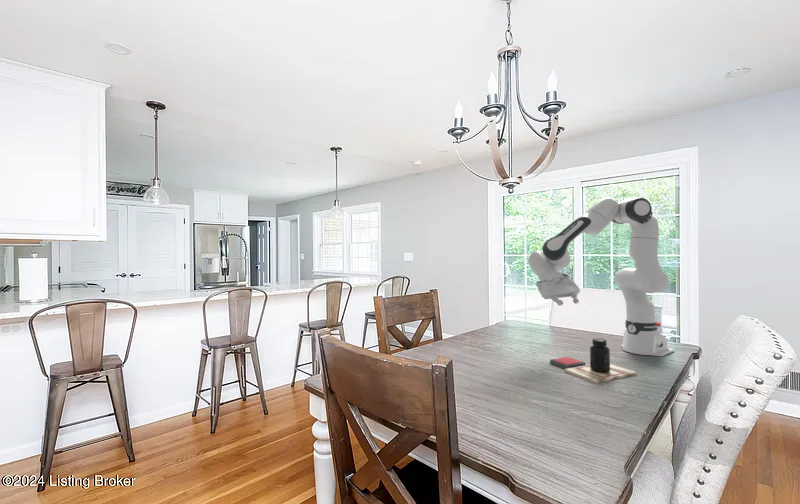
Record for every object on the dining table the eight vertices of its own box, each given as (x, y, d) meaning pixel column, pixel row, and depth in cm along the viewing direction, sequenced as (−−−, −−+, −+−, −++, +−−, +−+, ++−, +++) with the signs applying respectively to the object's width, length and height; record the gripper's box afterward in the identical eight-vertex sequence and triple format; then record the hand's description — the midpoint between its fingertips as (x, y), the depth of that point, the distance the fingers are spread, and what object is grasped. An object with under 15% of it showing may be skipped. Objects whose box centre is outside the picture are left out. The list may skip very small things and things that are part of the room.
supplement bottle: (605, 367, 146) (605, 337, 146) (613, 373, 140) (613, 341, 140) (587, 367, 147) (586, 337, 147) (594, 373, 140) (594, 341, 140)
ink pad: (567, 360, 160) (567, 356, 160) (585, 366, 152) (585, 362, 152) (550, 363, 156) (550, 359, 156) (567, 369, 148) (567, 365, 148)
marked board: (604, 364, 154) (604, 361, 154) (636, 374, 141) (636, 371, 141) (564, 371, 145) (564, 368, 145) (595, 383, 132) (595, 380, 132)
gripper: (537, 277, 165) (555, 301, 156) (571, 274, 173) (589, 297, 164) (530, 286, 169) (547, 310, 161) (563, 283, 178) (581, 306, 169)
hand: (569, 303), depth 163 cm, fingers open, 8 cm apart
